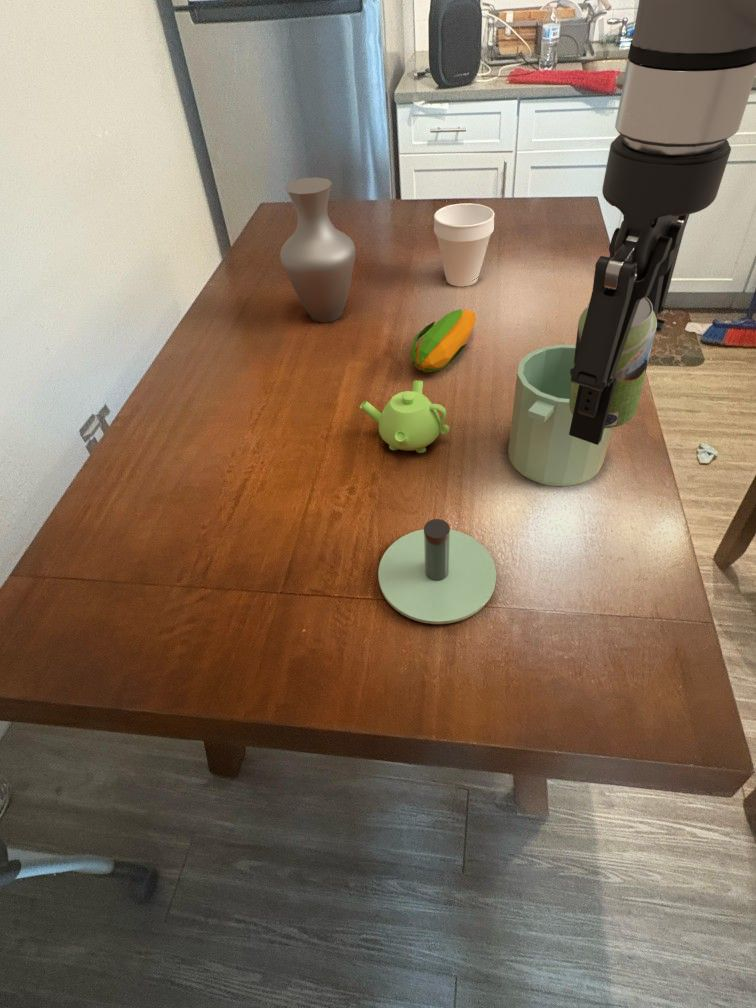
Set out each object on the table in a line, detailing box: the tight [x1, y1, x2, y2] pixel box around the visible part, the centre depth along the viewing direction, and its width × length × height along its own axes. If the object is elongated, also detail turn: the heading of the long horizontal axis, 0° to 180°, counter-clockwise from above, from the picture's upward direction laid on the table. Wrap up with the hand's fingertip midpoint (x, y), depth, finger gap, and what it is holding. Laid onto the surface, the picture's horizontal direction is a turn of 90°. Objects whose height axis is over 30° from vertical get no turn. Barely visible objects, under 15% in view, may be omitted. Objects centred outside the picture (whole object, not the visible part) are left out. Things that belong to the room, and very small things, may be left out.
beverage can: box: [569, 297, 658, 429], centre depth 53 cm, size 6×7×12 cm
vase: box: [279, 176, 356, 323], centre depth 116 cm, size 14×14×25 cm
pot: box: [507, 343, 613, 487], centre depth 85 cm, size 14×19×14 cm
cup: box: [433, 202, 496, 287], centre depth 127 cm, size 12×12×14 cm
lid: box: [377, 518, 497, 625], centre depth 73 cm, size 15×15×9 cm
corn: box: [409, 308, 477, 373], centre depth 109 cm, size 7×8×20 cm
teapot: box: [359, 379, 450, 454], centre depth 92 cm, size 11×12×8 cm
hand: (602, 413), depth 56 cm, fingers closed on beverage can, 7 cm apart
